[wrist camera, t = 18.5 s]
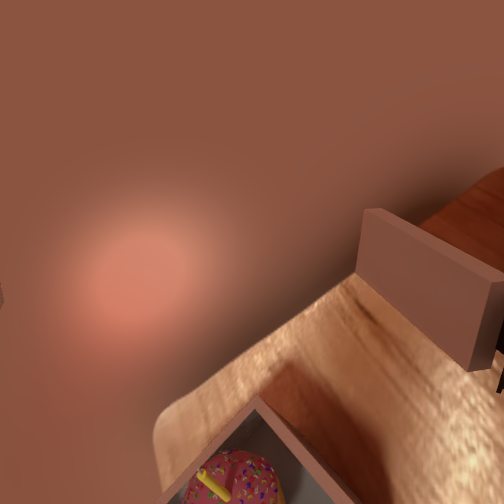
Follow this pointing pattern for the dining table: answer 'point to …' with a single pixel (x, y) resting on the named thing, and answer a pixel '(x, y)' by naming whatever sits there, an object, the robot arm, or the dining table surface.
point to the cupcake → (234, 481)
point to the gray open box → (291, 467)
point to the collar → (241, 433)
